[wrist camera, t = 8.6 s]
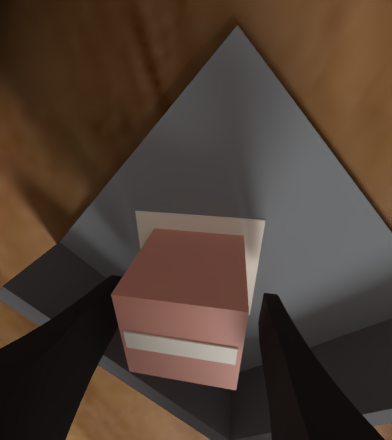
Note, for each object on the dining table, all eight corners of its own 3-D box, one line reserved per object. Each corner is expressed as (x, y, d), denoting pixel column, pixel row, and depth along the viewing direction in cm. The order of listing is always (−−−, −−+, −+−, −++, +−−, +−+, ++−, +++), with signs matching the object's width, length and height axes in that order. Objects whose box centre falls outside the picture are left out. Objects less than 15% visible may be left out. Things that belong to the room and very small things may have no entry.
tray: (442, 304, 13) (538, 397, 9) (229, 379, 19) (228, 451, 15) (237, 29, 9) (239, -37, 5) (57, 246, 15) (-6, 296, 11)
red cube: (243, 235, 12) (249, 314, 7) (236, 302, 14) (236, 392, 10) (154, 228, 13) (109, 295, 8) (160, 292, 15) (128, 372, 10)
